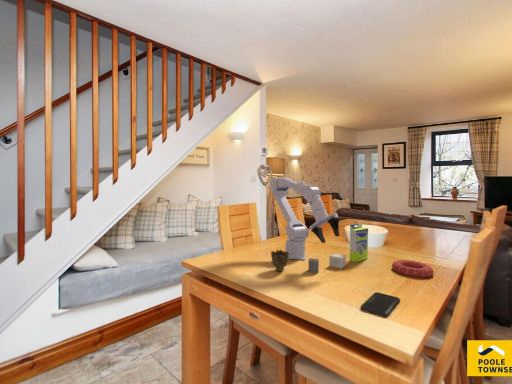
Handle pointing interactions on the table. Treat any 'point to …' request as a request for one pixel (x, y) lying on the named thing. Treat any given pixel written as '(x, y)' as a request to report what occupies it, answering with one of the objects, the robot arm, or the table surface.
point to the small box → (337, 261)
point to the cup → (279, 259)
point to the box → (358, 242)
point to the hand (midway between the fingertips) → (330, 239)
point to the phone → (380, 304)
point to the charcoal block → (313, 265)
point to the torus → (412, 268)
